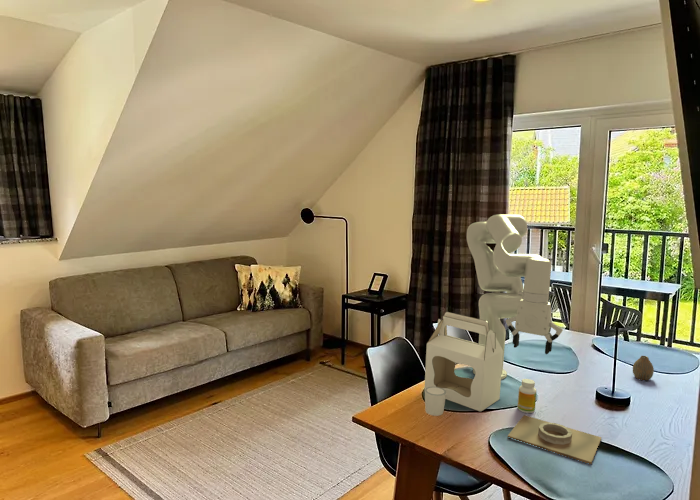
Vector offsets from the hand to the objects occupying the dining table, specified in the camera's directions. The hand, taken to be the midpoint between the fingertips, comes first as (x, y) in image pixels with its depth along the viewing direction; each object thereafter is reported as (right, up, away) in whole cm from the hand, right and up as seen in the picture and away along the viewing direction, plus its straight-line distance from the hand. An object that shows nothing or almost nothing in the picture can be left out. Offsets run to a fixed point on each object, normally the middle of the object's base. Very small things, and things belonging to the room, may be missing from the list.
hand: (531, 349), depth 158 cm
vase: (+54, -18, +32) cm, 65 cm away
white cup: (-31, -20, 0) cm, 37 cm away
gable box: (-20, -18, +12) cm, 30 cm away
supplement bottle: (-1, -20, +3) cm, 20 cm away
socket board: (+1, -23, -15) cm, 27 cm away
